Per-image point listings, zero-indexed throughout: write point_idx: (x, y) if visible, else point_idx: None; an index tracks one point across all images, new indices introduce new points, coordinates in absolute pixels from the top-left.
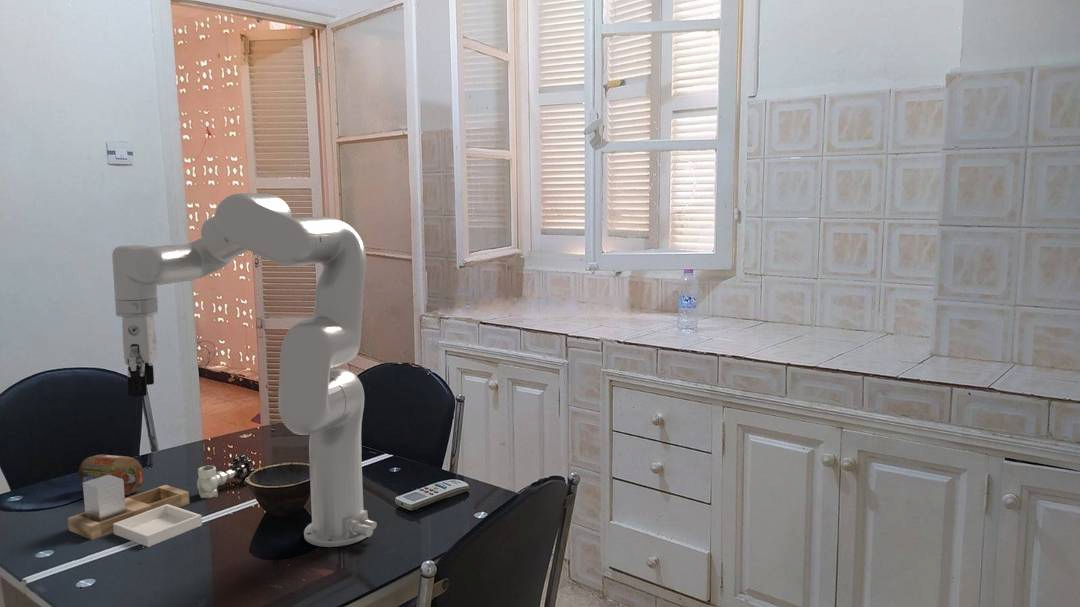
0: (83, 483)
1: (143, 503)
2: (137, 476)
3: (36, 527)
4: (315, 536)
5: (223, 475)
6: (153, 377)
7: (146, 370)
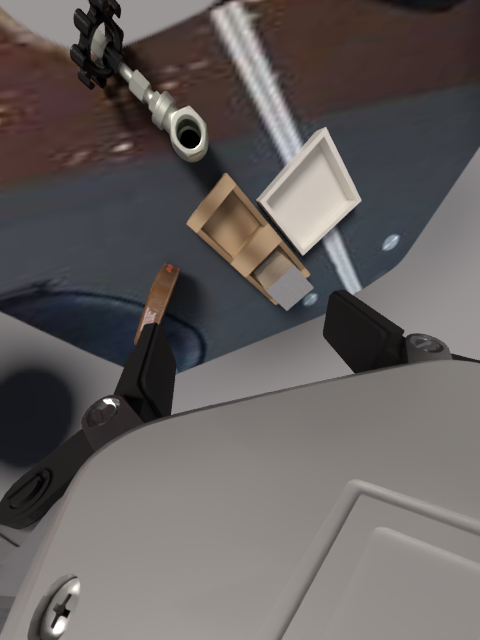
0: (287, 309)
1: (258, 235)
2: (176, 270)
3: (248, 328)
4: None
5: (169, 96)
6: (149, 337)
7: (156, 385)
